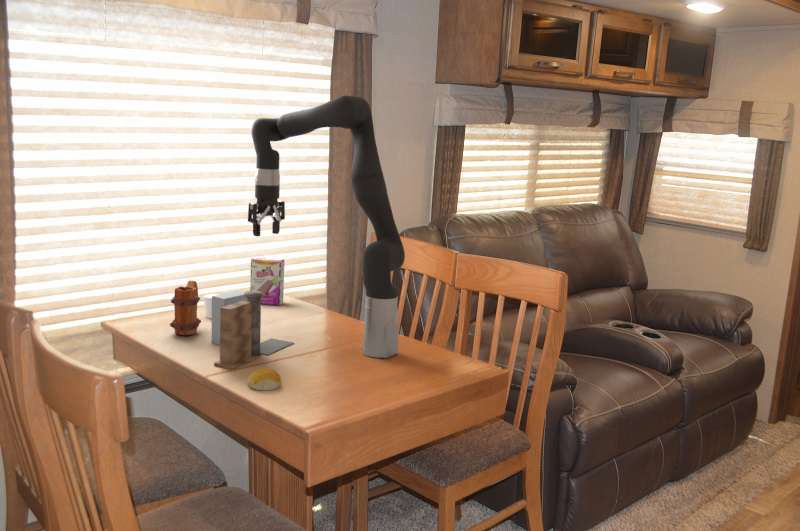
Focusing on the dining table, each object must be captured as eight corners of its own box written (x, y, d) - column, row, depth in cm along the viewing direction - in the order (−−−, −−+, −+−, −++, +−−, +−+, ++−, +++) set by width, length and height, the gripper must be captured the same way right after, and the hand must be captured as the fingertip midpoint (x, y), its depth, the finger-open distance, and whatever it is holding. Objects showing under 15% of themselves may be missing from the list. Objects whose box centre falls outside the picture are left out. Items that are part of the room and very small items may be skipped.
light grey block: (248, 338, 226) (249, 293, 224) (223, 345, 218) (224, 298, 215) (236, 335, 229) (237, 290, 226) (211, 342, 220) (211, 295, 218)
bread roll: (279, 378, 193) (279, 364, 192) (282, 391, 185) (282, 375, 184) (246, 379, 191) (247, 364, 191) (247, 392, 183) (248, 376, 182)
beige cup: (229, 316, 250) (229, 295, 249) (214, 320, 245) (214, 299, 243) (214, 312, 254) (214, 292, 253) (199, 316, 248) (199, 295, 247)
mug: (194, 338, 223) (194, 289, 220) (167, 337, 223) (166, 287, 220) (207, 325, 237) (208, 279, 235) (182, 324, 237) (182, 278, 235)
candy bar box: (249, 303, 268) (250, 258, 265) (253, 300, 273) (254, 256, 270) (279, 306, 267) (280, 261, 264) (283, 303, 272) (284, 258, 269)
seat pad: (271, 339, 227) (271, 338, 227) (294, 343, 224) (294, 342, 224) (244, 350, 214) (244, 349, 214) (267, 355, 211) (267, 354, 211)
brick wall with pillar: (249, 350, 215) (250, 289, 211) (267, 354, 212) (268, 292, 209) (214, 365, 200) (214, 300, 197) (232, 369, 198) (233, 303, 194)
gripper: (260, 185, 226) (259, 238, 229) (291, 183, 238) (290, 234, 241) (242, 183, 230) (241, 235, 233) (274, 181, 242) (273, 231, 245)
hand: (266, 234), depth 237 cm, fingers open, 8 cm apart
